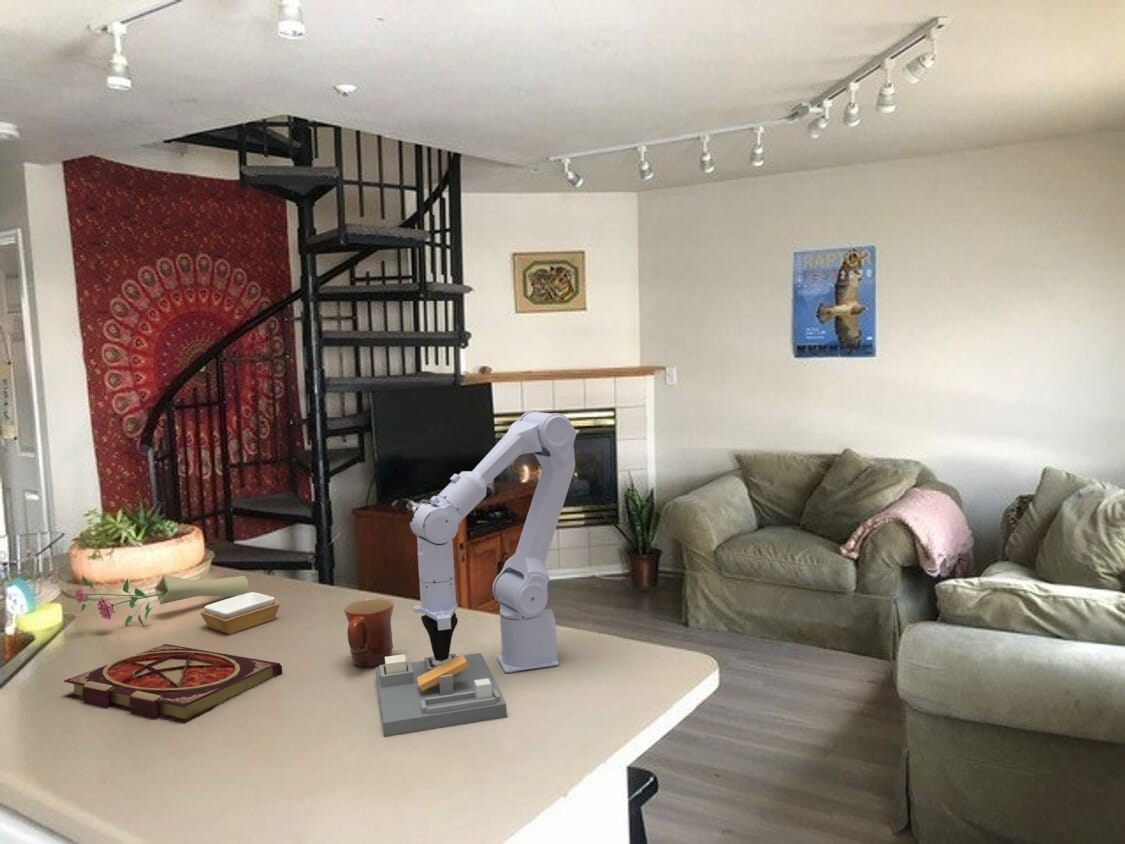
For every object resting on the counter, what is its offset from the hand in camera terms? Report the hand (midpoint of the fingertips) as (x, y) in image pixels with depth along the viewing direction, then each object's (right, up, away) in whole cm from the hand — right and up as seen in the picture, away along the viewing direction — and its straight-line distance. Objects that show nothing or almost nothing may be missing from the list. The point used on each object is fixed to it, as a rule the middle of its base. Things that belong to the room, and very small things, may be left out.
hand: (441, 658), depth 138 cm
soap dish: (-47, -3, +35) cm, 58 cm away
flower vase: (-65, -3, +42) cm, 77 cm away
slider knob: (+8, -3, -12) cm, 14 cm away
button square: (-7, -1, -2) cm, 8 cm away
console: (0, -5, -5) cm, 7 cm away
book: (-46, -7, +4) cm, 47 cm away
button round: (0, -2, 0) cm, 2 cm away
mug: (-14, -4, +10) cm, 18 cm away
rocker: (+1, -1, -7) cm, 7 cm away
